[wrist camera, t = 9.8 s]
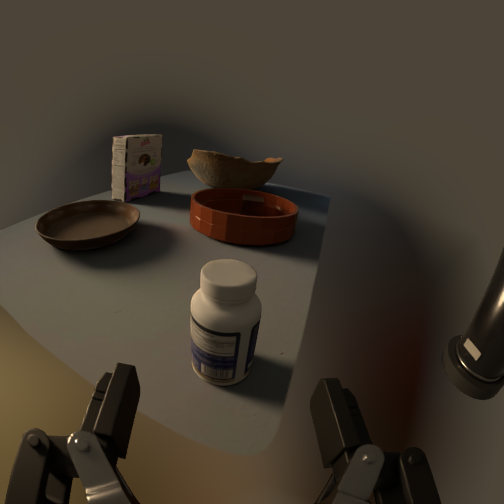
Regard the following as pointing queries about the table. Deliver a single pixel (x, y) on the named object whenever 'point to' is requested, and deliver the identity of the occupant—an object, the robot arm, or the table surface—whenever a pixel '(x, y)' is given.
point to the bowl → (242, 217)
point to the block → (252, 205)
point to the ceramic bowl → (231, 170)
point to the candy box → (136, 166)
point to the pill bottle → (224, 322)
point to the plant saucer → (87, 224)
